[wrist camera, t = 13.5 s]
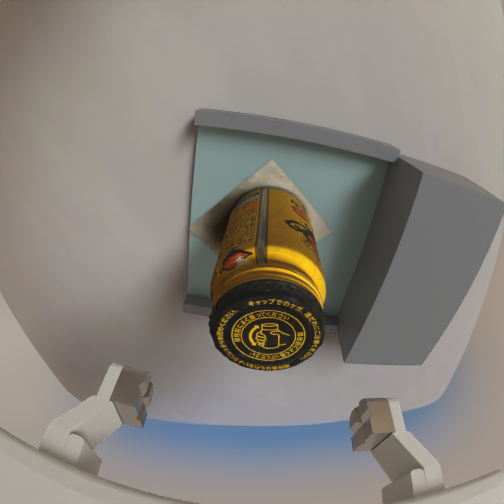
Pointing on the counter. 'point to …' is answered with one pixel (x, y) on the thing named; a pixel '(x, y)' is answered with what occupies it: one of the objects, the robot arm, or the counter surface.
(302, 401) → the counter surface
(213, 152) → the teal-floored tray
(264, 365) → the condiment
